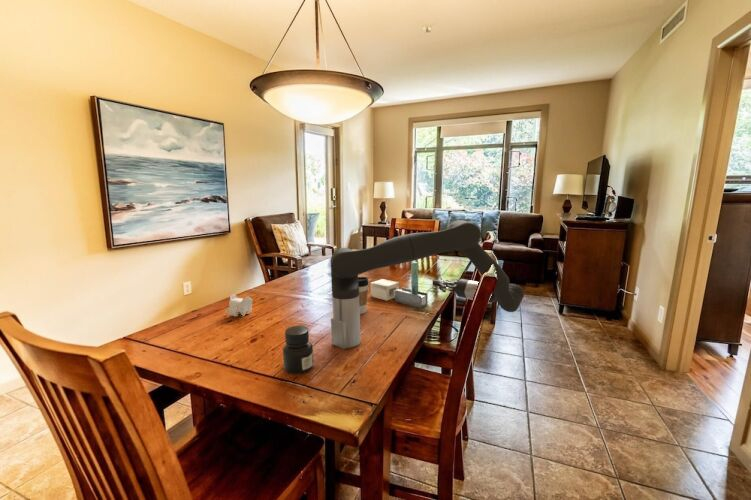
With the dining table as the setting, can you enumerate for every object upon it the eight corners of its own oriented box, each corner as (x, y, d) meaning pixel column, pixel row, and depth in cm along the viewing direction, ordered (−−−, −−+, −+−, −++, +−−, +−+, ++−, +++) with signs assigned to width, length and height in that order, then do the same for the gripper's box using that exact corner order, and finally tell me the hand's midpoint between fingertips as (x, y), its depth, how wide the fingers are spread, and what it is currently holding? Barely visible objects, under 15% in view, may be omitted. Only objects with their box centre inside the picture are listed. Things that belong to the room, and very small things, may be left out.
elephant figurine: (220, 318, 144) (218, 298, 142) (243, 309, 154) (241, 290, 153) (236, 322, 139) (234, 301, 138) (258, 312, 150) (257, 293, 148)
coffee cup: (366, 315, 143) (365, 281, 141) (347, 314, 145) (346, 280, 142) (371, 308, 152) (370, 276, 149) (352, 307, 153) (351, 275, 150)
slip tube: (421, 305, 152) (421, 264, 148) (393, 297, 162) (393, 259, 159) (426, 303, 154) (426, 263, 151) (398, 296, 165) (398, 258, 161)
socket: (386, 300, 162) (386, 286, 160) (370, 296, 169) (370, 282, 167) (398, 296, 168) (398, 282, 167) (382, 292, 175) (382, 278, 174)
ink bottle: (312, 375, 99) (309, 336, 96) (281, 376, 98) (278, 338, 96) (315, 358, 108) (313, 323, 106) (287, 360, 108) (284, 324, 105)
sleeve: (419, 308, 151) (419, 296, 150) (395, 301, 160) (395, 290, 159) (427, 304, 155) (427, 292, 154) (403, 298, 164) (403, 287, 163)
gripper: (478, 277, 140) (441, 271, 152) (462, 284, 131) (424, 277, 142) (477, 294, 141) (441, 287, 153) (462, 302, 132) (424, 294, 143)
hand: (433, 282), depth 148 cm, fingers closed
